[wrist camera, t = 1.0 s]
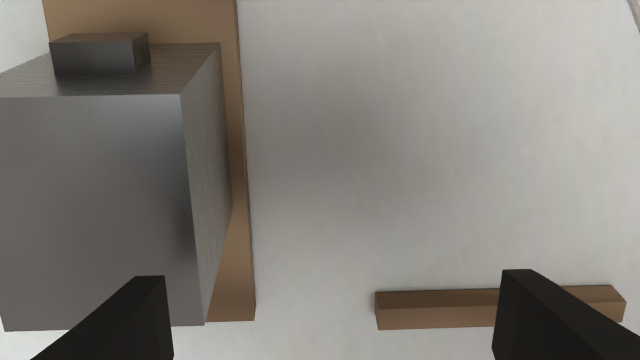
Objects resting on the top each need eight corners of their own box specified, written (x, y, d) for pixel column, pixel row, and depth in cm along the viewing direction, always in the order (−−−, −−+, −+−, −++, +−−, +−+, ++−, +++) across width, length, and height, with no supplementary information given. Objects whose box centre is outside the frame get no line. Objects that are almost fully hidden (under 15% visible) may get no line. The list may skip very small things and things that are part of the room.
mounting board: (255, 305, 24) (254, 320, 23) (110, 310, 24) (103, 325, 23) (232, -57, 18) (229, -57, 18) (45, -55, 18) (31, -55, 17)
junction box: (233, 215, 21) (205, 335, 15) (96, 218, 21) (7, 341, 14) (218, 17, 18) (175, 56, 12) (61, 19, 18) (-69, 60, 12)
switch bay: (607, 305, 24) (621, 322, 23) (374, 312, 24) (378, 330, 23) (738, -307, 16) (770, -325, 15) (393, -308, 16) (400, -327, 15)
